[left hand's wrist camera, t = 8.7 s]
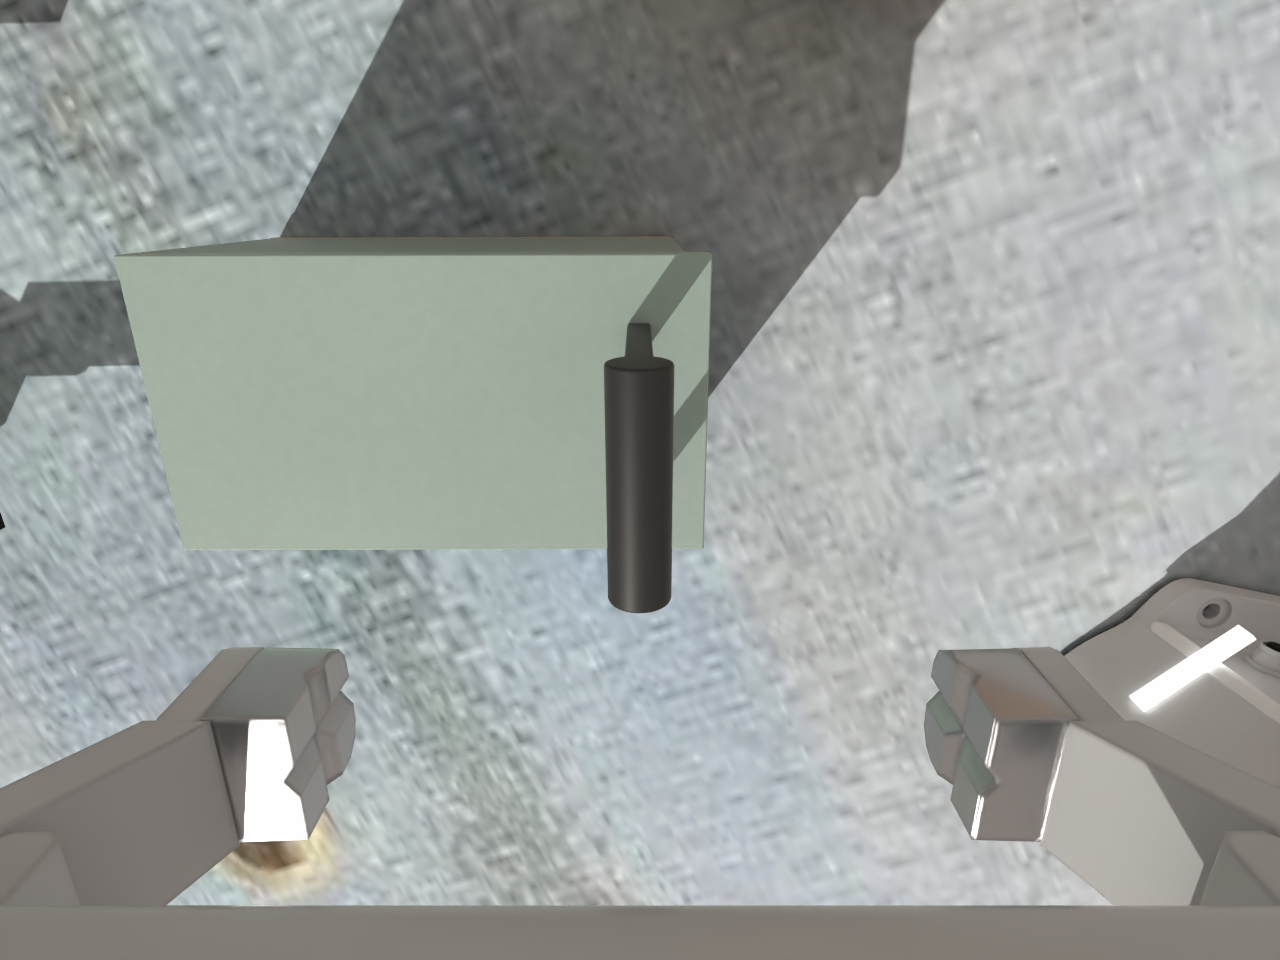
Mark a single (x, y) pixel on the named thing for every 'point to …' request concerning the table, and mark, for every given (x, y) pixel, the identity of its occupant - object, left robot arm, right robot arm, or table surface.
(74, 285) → the table surface
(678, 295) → the lid
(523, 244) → the chest
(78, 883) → the left robot arm
